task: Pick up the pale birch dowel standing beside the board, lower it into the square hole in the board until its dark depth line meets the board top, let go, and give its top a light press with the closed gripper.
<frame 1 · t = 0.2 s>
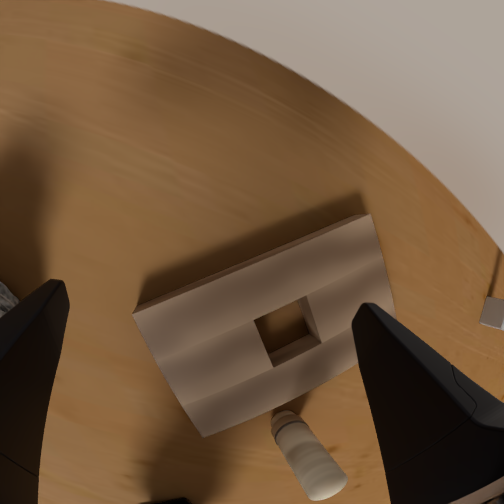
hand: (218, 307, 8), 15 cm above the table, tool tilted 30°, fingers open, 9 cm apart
lighter: (486, 300, 33), on the table
dowel: (283, 420, 25), on the table
board: (279, 323, 24), on the table
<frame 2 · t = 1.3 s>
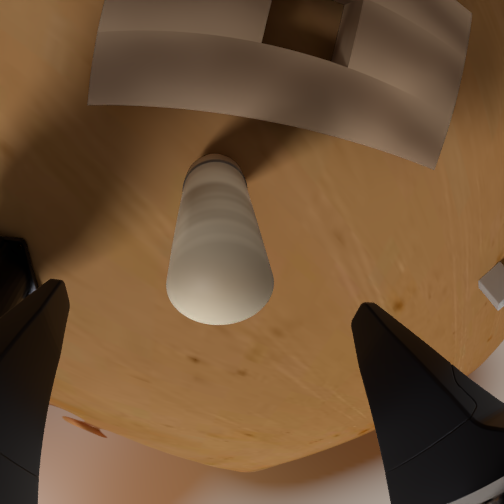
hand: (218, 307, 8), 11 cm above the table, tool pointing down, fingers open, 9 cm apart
lighter: (496, 266, 26), on the table
dowel: (214, 174, 17), on the table
board: (301, 23, 12), on the table
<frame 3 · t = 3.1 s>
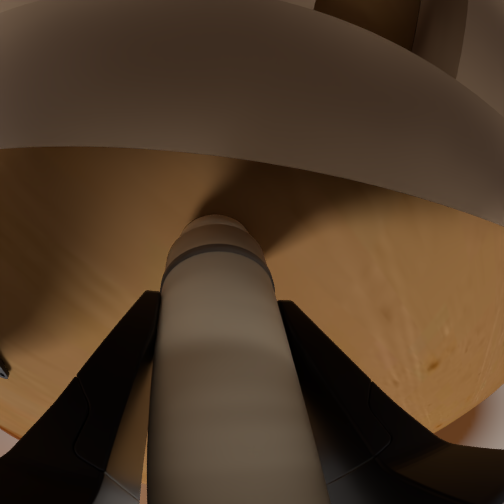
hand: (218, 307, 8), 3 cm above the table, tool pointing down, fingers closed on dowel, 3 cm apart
dowel: (214, 247, 11), on the table, touching gripper
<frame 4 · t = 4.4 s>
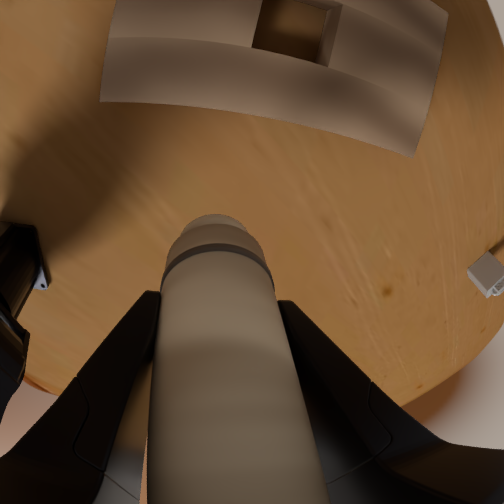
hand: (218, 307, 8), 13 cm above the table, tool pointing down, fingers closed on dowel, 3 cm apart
lighter: (484, 256, 28), on the table
dowel: (214, 246, 11), point 10 cm above the table, touching gripper
board: (287, 28, 14), on the table
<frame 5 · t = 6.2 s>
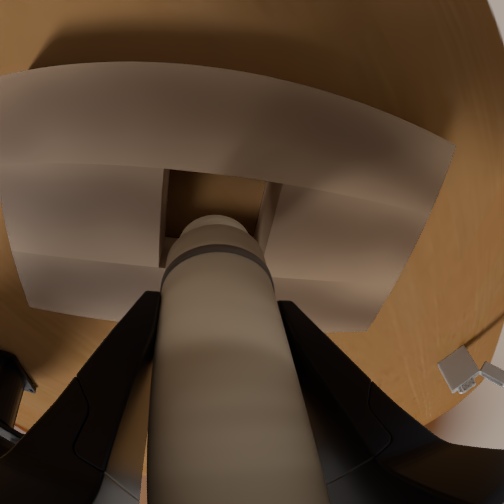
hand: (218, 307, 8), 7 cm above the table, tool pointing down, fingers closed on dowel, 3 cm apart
lighter: (459, 348, 28), on the table
dowel: (214, 247, 10), point 4 cm above the table, touching gripper
board: (214, 201, 14), on the table
when the fingers open (4 cm above the table, at t = 7.2 s): dowel stays where it is, resting in board.
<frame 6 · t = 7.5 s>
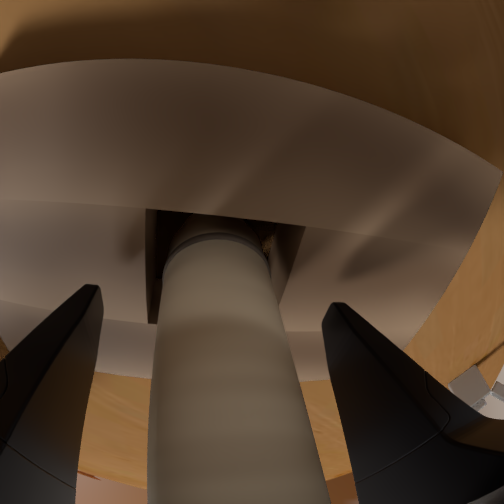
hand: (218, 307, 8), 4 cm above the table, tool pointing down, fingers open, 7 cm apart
lighter: (470, 367, 25), on the table
dowel: (214, 238, 11), resting in board
board: (214, 237, 11), on the table
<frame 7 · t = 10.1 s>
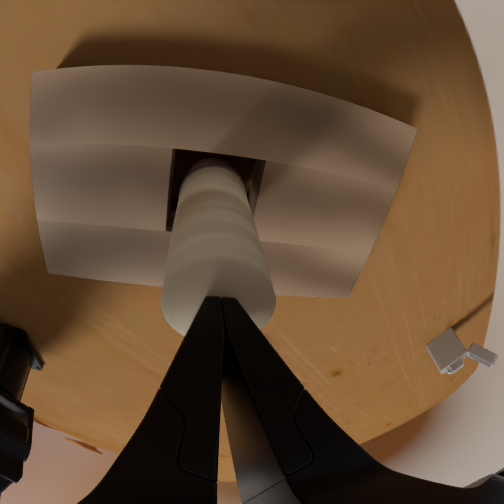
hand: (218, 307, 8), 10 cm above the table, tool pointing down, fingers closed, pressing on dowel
lighter: (447, 330, 31), on the table
dowel: (212, 179, 16), resting in board, touching gripper
board: (212, 179, 16), on the table
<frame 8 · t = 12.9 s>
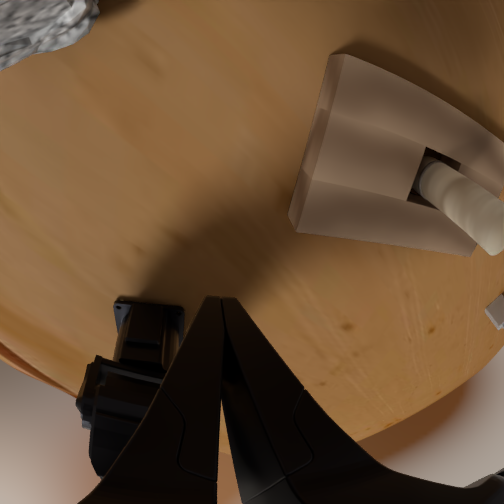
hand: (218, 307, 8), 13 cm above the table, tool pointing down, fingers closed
lighter: (498, 297, 35), on the table
dowel: (417, 169, 21), resting in board
board: (417, 169, 21), on the table
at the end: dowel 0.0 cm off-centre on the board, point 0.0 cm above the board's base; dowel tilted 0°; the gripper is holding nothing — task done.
